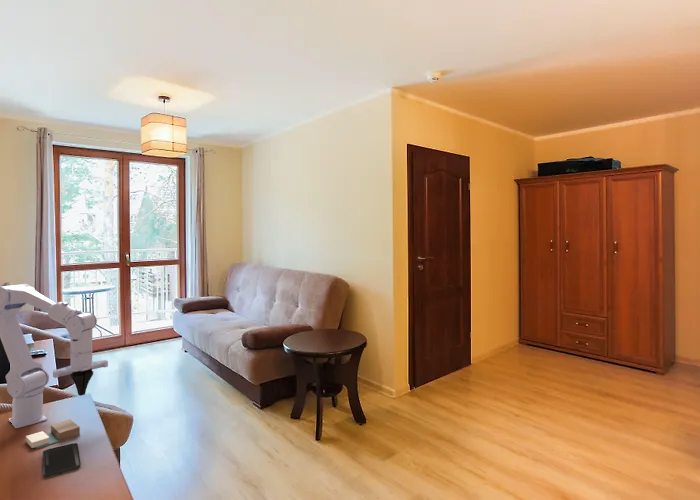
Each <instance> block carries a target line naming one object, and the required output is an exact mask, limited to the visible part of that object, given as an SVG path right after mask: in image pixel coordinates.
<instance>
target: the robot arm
mask: <svg viewBox="0 0 700 500" xmlns="http://www.w3.org/2000/svg"><path fill="white" fill-rule="evenodd" d="M27 304H28V305H30V306H33V307H34V308H36V309H39V310H41V311H44V312H46V313H47V316H48V317H49V319H51V320H53V321H55V322H57V323H59V324H62V325H63V326H65V329H66V331H67V332H68V337H69V339H70V365H68V366H65V367H61V368H58V369H54V370H52V377H53V378H55V379H58V378H59V377H64V376H68V375H69V376H70V378H71V380H72V381H73V383H74V386H75V388H76V391H77V392H76V393H77V395H78V396H80V397H81V396H85V395H86V392H87V388H88V385H89V383H90V381H91V379H92V377H93V375H94V371H93V370H97V369H102V368H108V367H109V361H108V360H107V359H103V360H98V361H97V360H96V361H93V329H95V327H96V326H97V321H98V319H97V316H96V315H95V314H94V313H93V312H92V311H85V312H83V311H82V310H81V309H79V308H75V307H73V306H71V305H69V302H67V301H58V302H55V301H54V300H52V299H50V298H48V297H47V296H45V295H43V294H41V293H40V292H38V291H37V290H36V288H35V287H34V286H31V285H29V284H28V283H20V284H12V285H4V286H2V285H1V286H0V341H1V344H2V346H3V349H4V351H5V354H6V356H7V359H8V362H9V364H10V369H9V371H8V373H7V374H5V380H6V391H7V393H8V394H9V395H10V396H11V398H12V404H11V405H12V407H11V409H12V410H11V411H12V415H11V417H10V418H8V419H9V420H8V421H9V423H10V422H11V423H12V424H11V423H10V424H11V425H12V426H13V427H14V429H20V428H24V427H27V426H31V425H34V424H38V423H42V422H46V421H47V420H48V418H47V417H46V416H45V415H44V412H43V410H44V409H43V408H44V405H43V404H44V403H43V402H44V398H43V397H44V394H43V393H44V391H45V387H46V386H47V385H48V383H49V380H50V375H49V373H48V371H47V370H46V369H45V368H44V367H43V365H42V363H40V362H38V361H35V360H34V359H33V357H32V354H31V352H30V349H29V347H28V344H27V341H26V338H25V336H24V333H23V330H22V327H21V325H20V322H19V320H18V317H17V314H18V313H19V311H21V310H22V309H23V308H24V307H25V306H26V305H27ZM11 419H12V420H11Z"/></svg>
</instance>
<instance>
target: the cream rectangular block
mask: <svg viewBox="0 0 700 500" xmlns="http://www.w3.org/2000/svg"><path fill="white" fill-rule="evenodd" d="M46 434H47V433H46V432H44V431H43V430H42V431H39V432H35V433H31V434H29V435H25V442H26V444H27V445H28V446H29V447H30V448H31V449H34V448H35V447H37V446H40V445H43V444H47V443H49V436H48V435H46Z"/></svg>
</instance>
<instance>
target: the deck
mask: <svg viewBox="0 0 700 500" xmlns="http://www.w3.org/2000/svg"><path fill="white" fill-rule="evenodd" d="M80 429H81V428H80V425H78V424H77V423H76V422H74V421H73V420H72V419H71V418H70V419H67V420H64V421H59V422H56V423H53V424H50V433H51V434H52V435H53V436H54V437H55V438H56V439H57V440H58V443H59V442H64V441H67V440H69V439H73V438H76V437H80V435H81V434H80V432H81V431H80Z"/></svg>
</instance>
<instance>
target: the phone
mask: <svg viewBox="0 0 700 500" xmlns="http://www.w3.org/2000/svg"><path fill="white" fill-rule="evenodd" d="M79 450H80V449H79V445H78V443H77V442H73V443H68V444H64V445H60V446H55V447H51V448H48V449H45V450H43V451H42V459H41V461H42V479H50V478H52V477H56V476H57V477H58V476H61V475H63V474H67V473H71V472H74V471H77V470H79V468H80V469H81V468H82V467H81V466H82V463H81V456H80V451H79Z"/></svg>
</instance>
